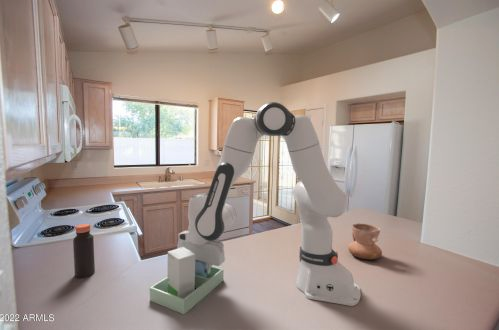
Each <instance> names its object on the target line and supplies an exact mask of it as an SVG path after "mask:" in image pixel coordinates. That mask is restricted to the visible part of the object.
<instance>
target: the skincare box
mask: <svg viewBox="0 0 499 330" xmlns="http://www.w3.org/2000/svg"><path fill="white" fill-rule="evenodd" d="M167 277H168V280H167V291H166V292H167V293H169V294H172V295H175V296H177V297H180V298H183V299H184V298H186V297H187V296H188V295H189V294H191V293H192V292H193V291H194V290H196V289H195V254H194V253H192V252H191V251H190V250H188V249H186V248H184V247H181V248H178V249H177V248H175V249H172V250H169V251H167Z"/></svg>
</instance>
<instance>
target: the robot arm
mask: <svg viewBox="0 0 499 330" xmlns="http://www.w3.org/2000/svg"><path fill="white" fill-rule="evenodd" d="M263 136H267V137H279V136H280V137H282V138H283V139H284V142H285V144H286V148H287V152H288V155H289V158H290V162H291V166H292V169H293V172H294V174H295V175H296V176H297V177H298V179H299V180H300V181H298V182H297V183H296V184H295V185H294V187H293V189H292V195H293V198H294V201H295V203H296V206H297V211H298V215H299V216H298V217H299V220H300V228H301V233H300V234H301V236H300V237H301V241H300V242H301V245H300V247H299V262H300V263H299V270H298V275H297V278H296V281H295V285H296V287H297V288H298V289H299V290H300V291H301V292H302V293H303V294H304V295H305V297H306V298H307V299H309V300H315V301H320V302H321V301H322V302H326V303H333V304H339V305H344V306H349V307H353V306H356V305H357V304H359V302H360V300H361V296H362V295H361V288H360V286H359V285H358V284H357V282H355V281H354V277H353V275H352V272H351V271H350V270H349V269H348V268H347V267H346V266H344V265H343V264H342V263H341V262H340V261H339V254H338V251H334V249H333V234H334V233H333V227H332V225H331V224H330V221H329V220H328V218H338V217H340V216H342V215H343V214H344V213H345V212H346V210H347V208H348V203H349V201H348V200H349V199H348V196H347V195H346V192H344V190H342V189H341V188H340V187H339V185H338V184H337V182H336V181H335V179H334V178H333V176H332V174H331V172H330V170H329V168H328V167H327V166H328V165H327V164H326V162H325V158H324V156H323V155H324V154H323V151H322V148H321V144H320V141H319V137H318V134H317V131H316V129H315V126H314V125H313V122H312V121H311V118H310V117H308V116H306V115H303V114H298V115H294V113H292V112H291V111H290V110H289V109H288V108H287V107H286V106H285V105H284V104H282V103H279V102H276V101H275V102H274V101H272V102H271V101H270V102H267V103H265V104H263V105H262V106H261V107H259V109H257V112H256V113H255V114H254V115H253V116H252V117H246V116H240V117H239V116H238V117H237V118H235V119H234V120H233V121H232V122H231V125H230V126H229V128H228V131H227V134H226V136H225V139H224V143H223V148H222V151H221V155H220V159H219V161H218V164H217V168H216V171H215V172H214V176H213V178H212V181H211V183H210V188H209V190H208V192H205V193H204V192H203V193H198V194H194V195H193V196H191V197H190V198H189V200H188V205H187V206H188V209H187V210H188V211H187V212H188V213H187V219H188V222H189V223H188V228H187V229H186V230H183V231H181V232H179V233H178V234H177V239H178V240H177V245H176V246H177V248H176V249H178V248H181V247H184V248H186V249H188V250H190V251H191V252H192V253H194V254H195V260H197V261H201V262H205V263H207V266H208V267H207V268H205V273H207V274H209V273H210V272H211V267H212V266H215V267H219V266H221V265H222V264H224V263H225V260H226V257H225V249H224V248H225V247H224V243H223V241H221V239H219V238H220V237H221V236H222V234H224V233H225V232H226V231H227V230H228V229H230V227H232V226H233V225H234V224H235V222H236V221H237V212H236V210H235V208H234V206H233V205H232V204H230V203H228V202H227V200H228V196H229V194H230V191H231V188H232V186H233V185H234V184H235V182H236V181H237V180H238V179H240V177H242V175H244V174H245V173H246V172H247V171H248V170H249V168H250V167H251V166H250V165H251V164H252V161H253V159H254V155H255V151H256V148H257V144H258V142H259V140H260V138H262V137H263Z"/></svg>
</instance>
